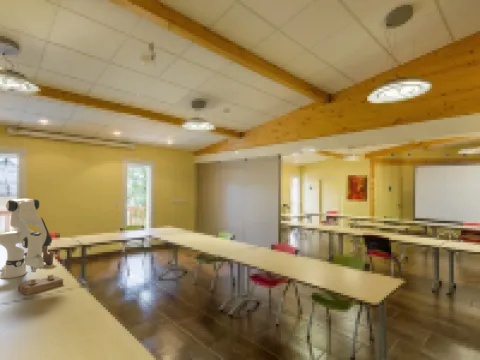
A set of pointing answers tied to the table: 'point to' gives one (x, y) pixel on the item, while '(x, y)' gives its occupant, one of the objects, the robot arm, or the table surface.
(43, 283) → the board
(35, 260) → the robot arm
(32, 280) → the leg
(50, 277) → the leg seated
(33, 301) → the table surface
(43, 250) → the wooden toy
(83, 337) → the table surface
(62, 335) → the table surface
